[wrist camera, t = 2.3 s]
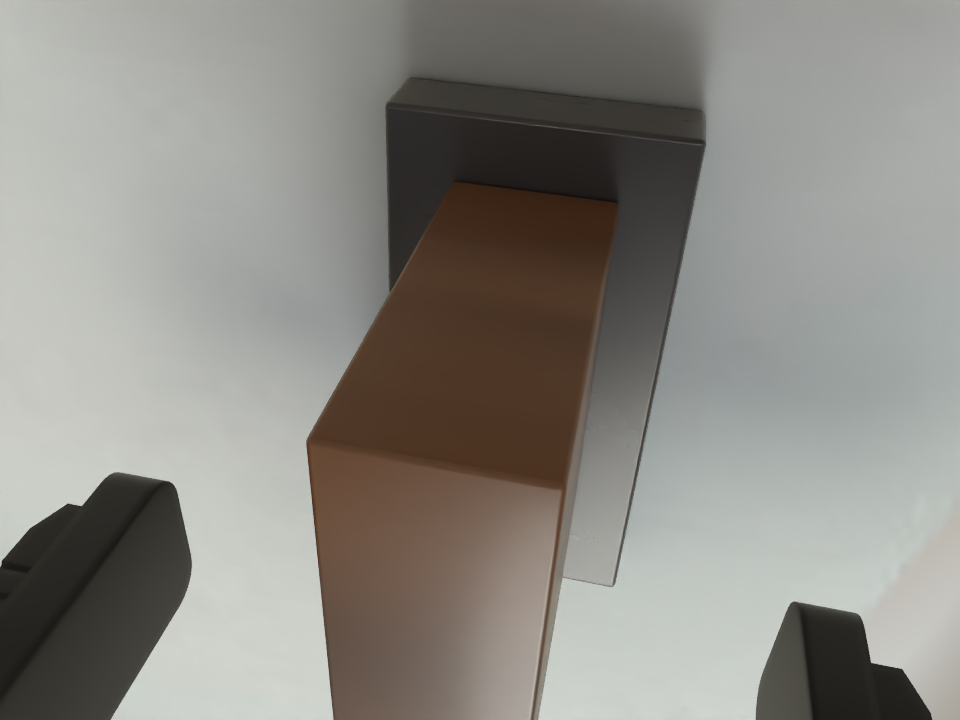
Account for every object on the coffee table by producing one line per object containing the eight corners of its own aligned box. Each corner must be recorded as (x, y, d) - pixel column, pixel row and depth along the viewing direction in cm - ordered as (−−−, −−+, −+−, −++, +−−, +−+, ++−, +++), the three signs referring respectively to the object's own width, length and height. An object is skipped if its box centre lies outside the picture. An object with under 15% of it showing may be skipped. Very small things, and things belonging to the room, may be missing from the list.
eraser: (407, 75, 13) (182, 330, 7) (707, 110, 12) (707, 416, 7) (410, 504, 18) (279, 840, 13) (619, 543, 18) (579, 914, 12)
